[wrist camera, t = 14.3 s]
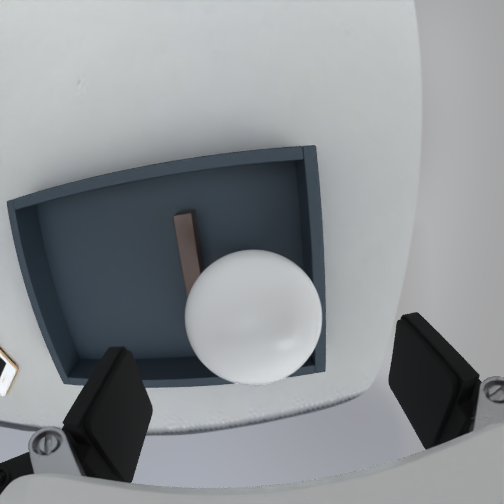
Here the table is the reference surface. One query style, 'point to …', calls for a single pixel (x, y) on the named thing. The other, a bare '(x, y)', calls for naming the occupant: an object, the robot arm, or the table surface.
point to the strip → (188, 246)
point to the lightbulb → (253, 317)
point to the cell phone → (6, 373)
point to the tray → (159, 254)
